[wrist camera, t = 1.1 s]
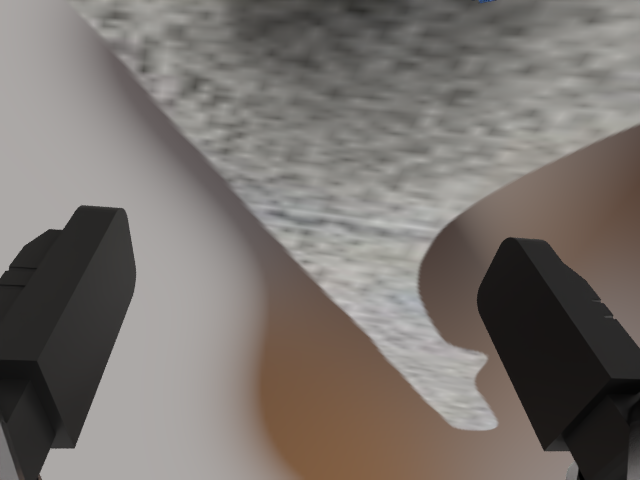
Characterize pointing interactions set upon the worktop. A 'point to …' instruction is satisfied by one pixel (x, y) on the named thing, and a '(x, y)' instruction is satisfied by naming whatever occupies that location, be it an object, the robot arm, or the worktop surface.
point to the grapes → (482, 0)
